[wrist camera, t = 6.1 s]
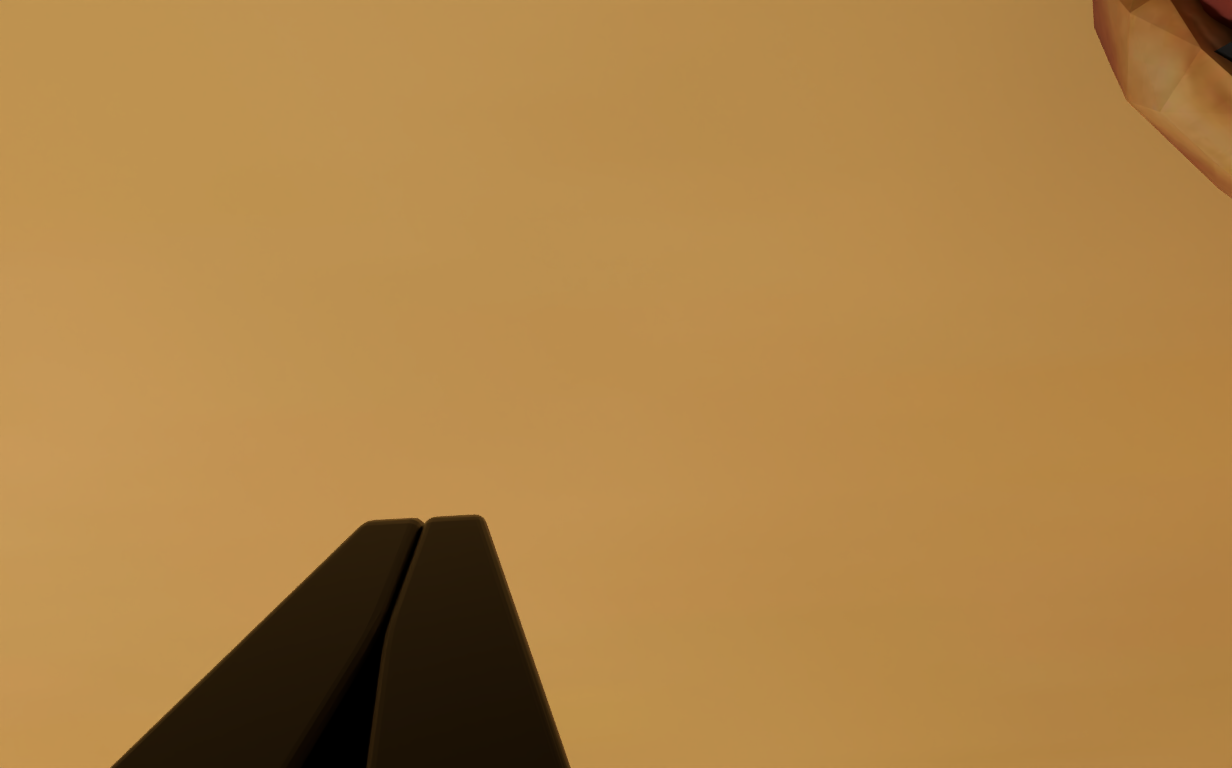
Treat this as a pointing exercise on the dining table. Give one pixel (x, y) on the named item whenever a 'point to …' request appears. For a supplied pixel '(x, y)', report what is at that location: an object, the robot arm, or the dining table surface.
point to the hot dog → (1176, 73)
